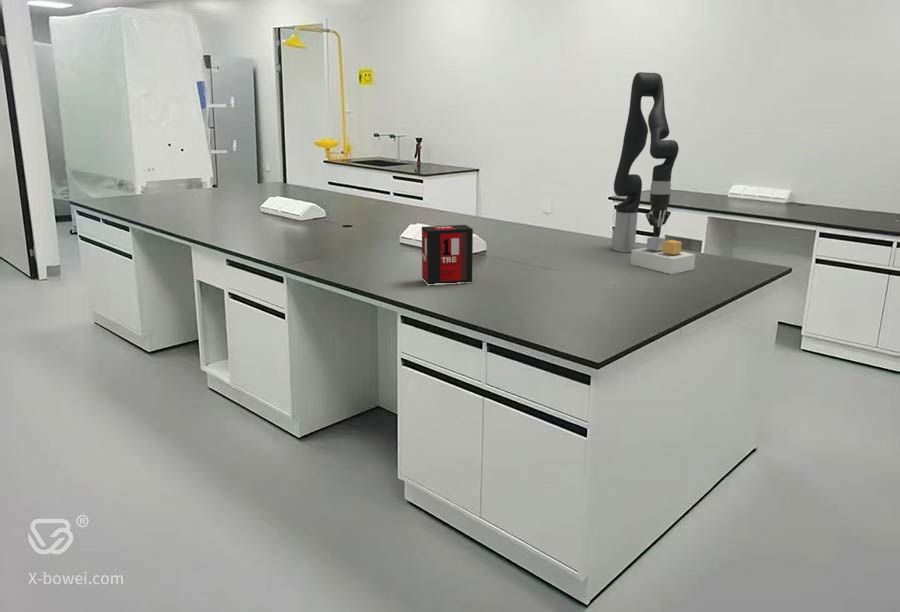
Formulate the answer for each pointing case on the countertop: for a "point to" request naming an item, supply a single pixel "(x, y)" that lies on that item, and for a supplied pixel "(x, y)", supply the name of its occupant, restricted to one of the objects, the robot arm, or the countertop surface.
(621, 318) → the countertop surface
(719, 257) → the countertop surface
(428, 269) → the cleaning product box
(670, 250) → the tan cardboard-coloured cube
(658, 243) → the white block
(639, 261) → the panel
